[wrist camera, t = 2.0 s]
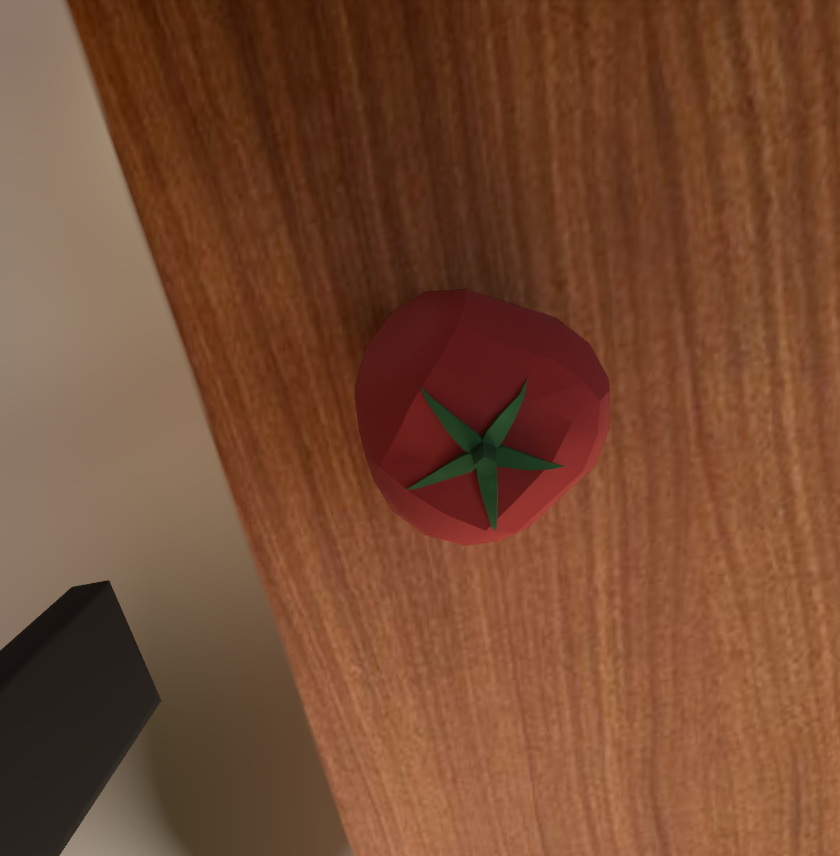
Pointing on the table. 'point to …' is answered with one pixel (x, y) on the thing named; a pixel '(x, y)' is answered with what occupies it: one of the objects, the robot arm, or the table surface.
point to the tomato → (478, 414)
